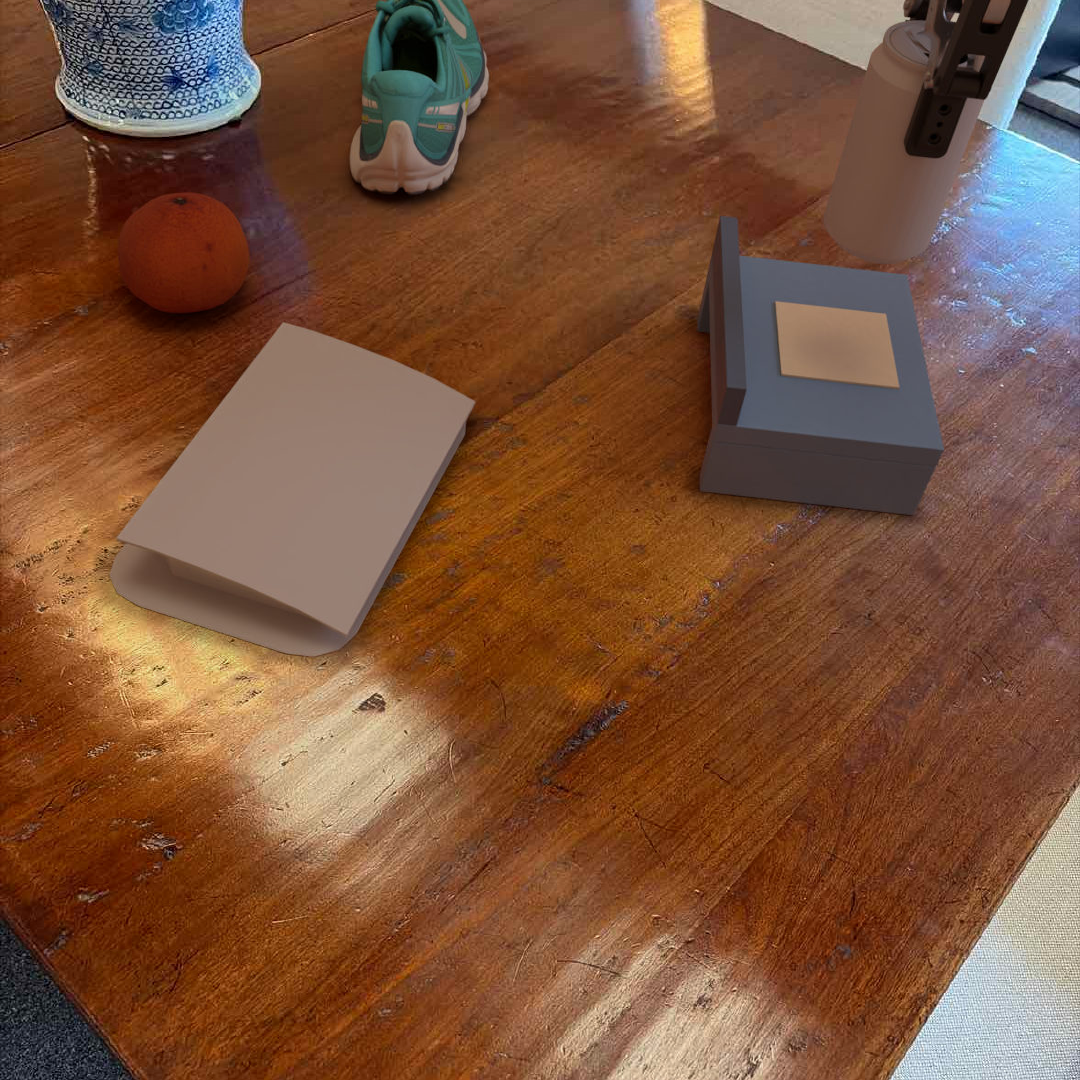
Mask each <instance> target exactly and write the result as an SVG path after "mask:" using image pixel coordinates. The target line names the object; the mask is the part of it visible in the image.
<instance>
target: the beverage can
mask: <svg viewBox="0 0 1080 1080" xmlns="http://www.w3.org/2000/svg"><path fill="white" fill-rule="evenodd" d="M925 23H926V21H923V20H914V21H905V20H904V21H901V22H897V23H894V24H893V25H890V26H889V27H888V28H887V29H886V31H884V35H883V38H882V42H880V44H879V45H878V46H877V47H875V48H874V49H873V51H872V52H871V54H870V57H869V60H868V64H867V67H866V70H865V73H864V76H863V80H862V84H861V88H860V90H859V94H858V96H857V101H856V105H855V108H854V110H853V115H852V117H851V121H850V124H849V128H848V131H847V134H846V137H845V141H844V145H843V148H842V153H841V155H840V159H839V162H838V164H837V169H836V172H835V175H834V179H833V182H832V186H831V189H830V193H829V196H828V199H827V204H826V207H825V209H824V213H823V218H822V219H823V226H824V229H825V231H826V232H827V234H828V235H829V237H830V238H831V239H832V240H833V241H834V242H835V243H836V244H837V246H838V247H839V248H841V249H842V250H843V251H844V252H846V254H849V255H851V256H852V257H854V258H856V259H859V260H862V261H865V262H869V263H873V264H879V265H880V264H881V265H893V264H894V265H895V264H899V263H903V262H905V261H907V260H909V259H913V258H916V257H918V256H919V255H922V253H924V252H925V251H926V250H927V249H928V248H929V246H930V244H931V242H932V240H933V237H934V235H935V232H936V229H937V226H938V224H939V221H940V218H941V216H942V214H943V211H944V207H945V205H946V203H947V201H948V197H949V194H950V191H951V189H952V187H953V184H954V181H955V179H956V176H957V173H958V171H959V168H960V166H961V163H962V161H963V157H964V155H965V152H966V150H967V147H968V144H969V141H970V139H971V137H972V134H973V131H974V128H975V126H976V123H977V121H978V118H979V116H980V114H981V110H982V108H983V105H984V102H985V100H980V99H972V98H967V100H966V102H965V105H964V108H963V110H962V113H961V116H960V119H959V121H958V124H957V127H956V129H955V132H954V135H953V137H952V140H951V143H950V146H949V148H948V151H947V153H946V154H945V155H944V156H943V157H941V158H937V159H935V158H926V157H917V156H910V155H908V154H907V153H906V150H905V146H904V138H905V135H906V132H907V129H908V127H909V124H910V121H911V118H912V115H913V112H914V109H915V106H916V103H917V100H918V97H919V94H920V91H921V88H922V85H923V82H924V74H925V71H926V69H927V64H928V59H929V54H930V49H931V44H932V42H931V39H930V38H928V37H927V36H926V34H925ZM947 45H948V44H947ZM924 53H925V54H924ZM968 57H969V54H966V55H964V56H963V57H962V58H961V59H960V62H959V64H958V66H960V67H966V66H967V61H968Z"/></svg>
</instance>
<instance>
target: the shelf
mask: <svg viewBox="0 0 1080 1080" xmlns="http://www.w3.org/2000/svg"><path fill="white" fill-rule="evenodd" d="M738 221H739V220H738V217H735V216H728V215H727V216H725V215H720V216H719V220H718V225H717V230H716V234H715V237H714V242H713V246H712V250H711V251H712V252H711V255H710V260H709V263H708V269H707V273H706V279H705V283H704V288H703V292H702V297H701V300H700V305H699V309H698V313H697V319H696V322H697V323H696V325H697V326H696V328H697V329H696V331H697V332H698V333H706V334H707V333H708V334H709V339H710V340H709V342H710V345H709V346H710V347H709V348H710V383H711V385H710V388H711V419H712V421H711V422H712V423H711V425H712V426H711V430H710V432H709V437H708V441H707V446H706V448H705V453H704V457H703V461H702V464H701V468H700V472H699V492H702V493H712V494H719V495H720V494H721V495H728V496H736V497H737V496H739V497H747V498H756V499H765V500H775V501H782V502H791V503H799V504H800V503H801V504H807V505H817V506H825V507H836V508H845V509H854V510H862V511H871V512H881V513H889V514H898V515H906V516H914V515H915V514H916V511H917V509H918V507H919V504H920V502H921V500H922V498H923V496H924V494H925V492H926V489H927V488H928V486H929V483H930V481H931V479H932V477H933V475H934V472H935V470H936V468H937V466H938V464H939V462H940V459H941V458H942V455H943V453H944V451H945V447H944V444H943V443H944V442H943V437H942V433H941V428H940V424H939V420H938V413H937V410H936V409H937V408H936V404H935V400H934V395H933V391H932V390H933V389H932V386H931V381H930V376H929V372H928V368H927V362H926V358H925V353H924V348H923V344H922V343H923V342H922V338H921V333H920V329H919V325H918V319H917V315H916V310H915V305H914V301H913V295H912V290H911V286H910V281H909V277H908V274H905V273H904V274H903V273H895V272H888V271H878V270H868V269H861V268H852V267H843V266H834V265H825V264H817V263H809V262H800V261H792V260H791V261H790V260H781V259H775V258H773V259H772V258H766V257H765V258H764V257H756V256H747V255H740V242H739V241H740V240H739V239H740V238H739V223H738Z"/></svg>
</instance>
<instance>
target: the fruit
mask: <svg viewBox="0 0 1080 1080" xmlns="http://www.w3.org/2000/svg"><path fill="white" fill-rule="evenodd" d="M240 223H241V222H239V220H238V219H237V217H236V215H235V214H234V213H233V211H232V210H231V209H230V208H228V206H226V205H225V204H224V203H223V202H221V201H219V200H217V199H215V198H214V197H212V196H209V195H206V194H204V193H203V194H202V193H198V192H188V191H187V192H175V193H168V194H161V195H160V196H157V197H155V198H153V199H151V200H149V201H147V202H146V203H144V204H143V205H142V206H141V207H140V208H138V209H137V210H135V211H134V212H133V213H131V215H130V216H129V217H128V218H127V220H126V221H125V223H124V224H123V226H122V228H121V231H120V233H119V237H118V245H117V259H118V266H119V267H118V268H119V272H120V276H121V279H122V280H123V282H124V284H125V285H126V287H127V289H128V290H129V291H130V293H132V294H133V295H134V296H135V297H136V298H137V299H139V300H141V301H142V302H144V303H145V304H146V305H148V306H149V307H151V308H153V309H155V310H158V311H161V312H164V313H171V314H174V313H175V314H189V313H199V312H203V311H208V310H211V309H215V308H216V307H219V306H221V305H223V304H225V303H226V302H228V301H229V300H231V299H232V298H233V297H234V296H235V295H236V294H237V293H238V291H240V290H241V287H242V286H243V284H244V282H245V280H246V277H247V274H248V270H249V265H250V249H249V244H248V240H247V237H246V236H245V233H244V230H243V227H242V225H241V224H240Z"/></svg>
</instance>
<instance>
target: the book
mask: <svg viewBox="0 0 1080 1080" xmlns="http://www.w3.org/2000/svg"><path fill="white" fill-rule="evenodd" d="M475 406H476V401H475V400H474V399H472V398H470V397H468V396H467V395H465V394H463V393H461V392H459V391H457V390H456V389H454V388H452V387H450V386H449V385H447V384H445V383H443V382H441V381H440V380H437V379H436V378H433V377H432V376H429V375H427V374H425V373H423V372H421V371H418V370H416V369H414V368H411V367H410V366H407V365H406V364H403V363H401V362H398V361H396V360H394V359H391V358H389V357H386V356H384V355H381V354H380V353H379V354H378V353H375V352H373V351H371V350H368V349H366V348H363V347H360V346H357V345H355V344H353V343H349V342H346V341H344V340H341V339H338V338H337V337H336V338H335V337H333V336H330V335H326V334H324V333H321V332H318V331H315V330H313V329H309V328H306V327H301V326H298V325H294V324H292V323H288V322H284V321H283V322H281V324H280V325H279V327H278V328H277V330H276V331H275V332H274V333H273V334H272V336H271V337H270V338H269V340H268V341H267V342H266V344H265V345H264V346H263V347H262V349H261V350H260V352H258V354H257V355H256V357H255V358H254V359H253V360H252V362H251V363H250V364H249V365H248V367H247V368H246V370H245V371H244V372H243V373H242V375H241V376H240V377H239V379H237V381H236V383H235V384H234V385H233V386H232V387H231V389H230V390H229V391H228V393H227V394H226V396H225V397H224V398H223V399H222V400H221V402H220V403H219V405H218V406H217V407H216V409H215V410H214V411H212V413H211V415H210V416H209V418H208V419H207V420H206V421H205V422H204V424H203V425H202V426H201V427H200V429H199V430H198V432H196V434H195V435H194V437H193V438H192V439H191V441H190V442H189V443H188V445H186V447H185V449H184V450H183V451H182V452H181V454H180V455H179V456H178V458H177V459H176V460H175V462H174V463H173V464H172V465H171V466H170V467H169V469H168V470H167V472H166V473H165V474H164V476H163V477H162V478H161V479H160V481H159V482H158V483H157V485H156V486H155V487H154V488H153V489H152V491H151V492H150V494H148V496H147V498H146V499H145V500H144V502H143V503H142V504H141V505H140V506H139V508H138V509H137V510H136V512H134V515H132V517H131V518H130V519H129V520H128V522H127V523H126V525H125V526H124V528H122V530H121V531H120V532H119V534H118V535H117V536H116V538H115V540H116V541H117V542H120V543H123V544H124V545H123V546H122V547H121V549H120V550H119V552H118V553H116V556H115V557H114V559H113V563H112V565H111V568H110V571H109V573H108V574H109V575H108V577H109V578H110V580H111V583H112V585H113V587H114V590H115V591H116V593H117V595H119V596H121V598H124V599H126V600H127V601H129V602H130V603H132V604H134V605H136V606H137V607H140V608H143V609H146V610H149V611H152V612H155V613H159V614H161V615H163V616H164V615H165V616H168V617H171V618H174V619H177V620H180V621H183V622H186V623H189V624H192V625H195V626H199V627H201V628H205V629H208V630H211V631H213V632H217V633H220V634H222V635H223V634H224V635H226V636H229V637H232V638H236V639H239V640H242V641H245V642H248V643H251V644H255V645H257V646H261V647H264V648H266V649H270V650H273V651H276V652H279V653H283V654H286V655H293V656H294V655H295V656H301V657H310V658H315V657H319V656H323V655H326V654H330V653H333V652H336V651H340V650H341V649H342V648H344V647H345V645H347V644H348V643H349V641H350V640H352V639H353V638H354V637H355V636H356V635H357V634H358V632H359V630H360V628H361V626H362V624H363V622H365V621H364V620H365V619H366V617H367V615H368V613H369V611H370V609H371V608H372V606H373V604H374V602H375V601H376V598H377V596H378V595H379V593H380V592H381V589H382V588H383V586H384V584H385V582H386V580H387V579H388V578H389V577H388V576H389V575H390V573H391V571H392V569H393V568H394V566H395V563H396V562H397V560H398V559H399V556H400V555H401V553H402V551H403V550H404V547H405V545H406V543H407V542H408V540H409V538H410V537H411V535H412V532H413V531H414V529H415V527H416V525H417V523H418V521H419V520H420V518H421V516H422V514H423V513H424V510H425V509H426V507H427V505H428V503H429V501H430V500H431V498H432V496H433V494H434V492H435V491H436V488H437V487H438V485H439V483H440V481H441V479H442V477H443V476H444V474H445V472H446V471H447V469H448V466H449V465H450V463H451V461H452V460H453V458H454V455H455V454H456V452H457V450H458V448H459V446H460V445H461V443H462V441H463V439H464V437H465V435H466V429H467V420H468V418H469V416H470V414H471V412H472V411H473V409H474V407H475Z"/></svg>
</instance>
